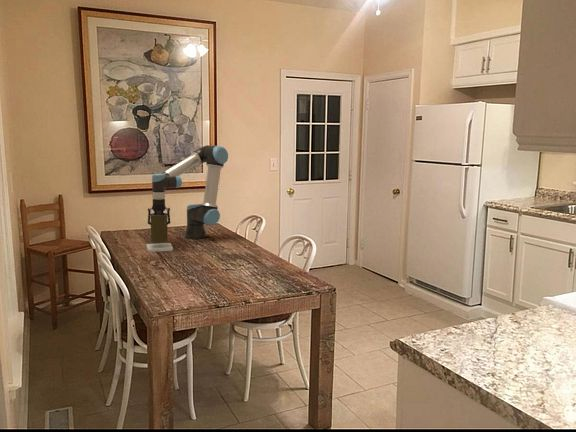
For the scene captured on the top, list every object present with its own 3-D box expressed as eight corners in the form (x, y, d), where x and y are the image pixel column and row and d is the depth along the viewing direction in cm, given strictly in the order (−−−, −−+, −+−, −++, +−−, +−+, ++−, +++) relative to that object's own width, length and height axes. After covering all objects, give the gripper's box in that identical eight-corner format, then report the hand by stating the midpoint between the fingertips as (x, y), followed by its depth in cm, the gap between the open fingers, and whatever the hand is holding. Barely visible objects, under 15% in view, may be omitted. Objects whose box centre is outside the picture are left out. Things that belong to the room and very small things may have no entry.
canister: (165, 243, 301) (164, 211, 298) (148, 242, 301) (148, 210, 298) (169, 239, 312) (169, 208, 308) (153, 239, 312) (153, 208, 309)
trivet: (170, 245, 317) (170, 242, 317) (173, 250, 303) (172, 248, 303) (146, 246, 312) (146, 243, 312) (147, 252, 298) (147, 249, 298)
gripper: (173, 197, 309) (174, 233, 313) (142, 198, 302) (142, 234, 306) (175, 199, 302) (175, 235, 306) (142, 199, 295) (143, 236, 299)
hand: (159, 234), depth 306 cm, fingers open, 6 cm apart
